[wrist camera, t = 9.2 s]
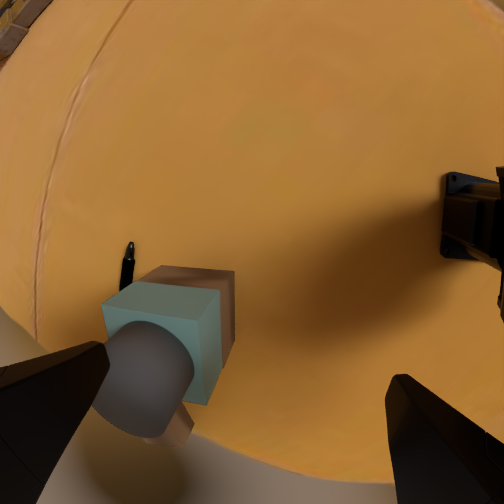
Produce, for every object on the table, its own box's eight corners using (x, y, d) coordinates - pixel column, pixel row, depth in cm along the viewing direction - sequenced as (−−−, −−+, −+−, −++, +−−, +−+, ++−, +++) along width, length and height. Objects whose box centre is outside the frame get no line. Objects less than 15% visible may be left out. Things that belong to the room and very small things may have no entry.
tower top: (219, 289, 17) (197, 320, 13) (222, 367, 18) (206, 405, 14) (135, 280, 17) (101, 304, 14) (147, 353, 19) (122, 384, 15)
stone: (189, 327, 13) (153, 376, 9) (199, 398, 14) (175, 448, 10) (109, 314, 14) (65, 348, 10) (127, 381, 15) (95, 419, 11)
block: (177, 391, 25) (162, 417, 21) (194, 422, 26) (183, 448, 22) (140, 390, 26) (123, 412, 22) (158, 420, 27) (145, 442, 23)
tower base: (234, 270, 20) (220, 290, 17) (235, 339, 22) (223, 368, 18) (161, 264, 21) (136, 281, 17) (168, 329, 23) (148, 354, 19)
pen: (131, 364, 26) (129, 371, 25) (117, 360, 25) (114, 366, 24) (145, 243, 22) (142, 248, 20) (127, 238, 21) (123, 242, 20)
